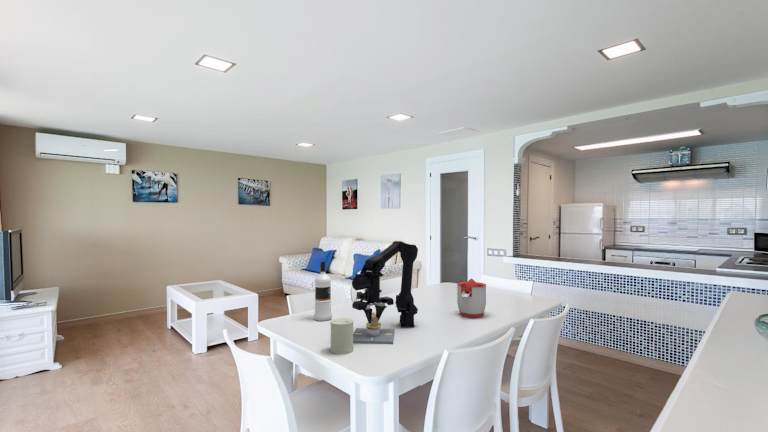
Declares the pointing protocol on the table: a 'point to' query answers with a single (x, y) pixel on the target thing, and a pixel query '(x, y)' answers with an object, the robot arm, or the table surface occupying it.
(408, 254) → the robot arm
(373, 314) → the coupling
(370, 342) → the post base
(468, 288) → the citrus juicer
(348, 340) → the can
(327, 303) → the vodka
